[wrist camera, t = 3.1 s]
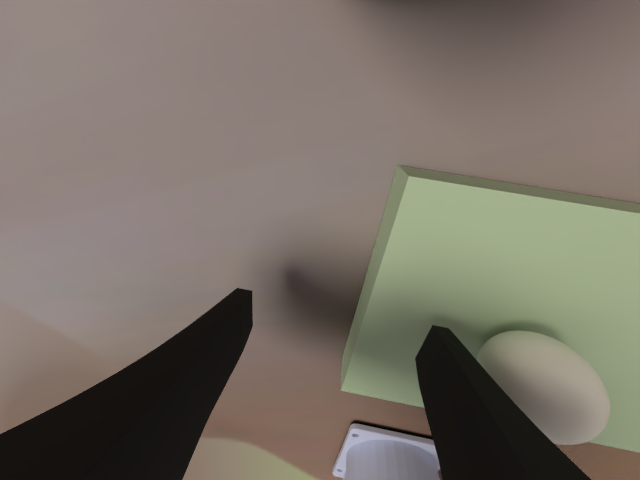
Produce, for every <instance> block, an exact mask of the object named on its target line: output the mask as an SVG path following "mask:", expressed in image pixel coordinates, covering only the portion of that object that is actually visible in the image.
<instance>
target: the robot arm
mask: <svg viewBox="0 0 640 480" xmlns="http://www.w3.org/2000/svg"><path fill="white" fill-rule="evenodd" d="M252 327H253V319H252V291H250V290H245V289H239V288H237V289H235V290H234V291H233V292H231V293H230V294H229V295H228V296H226V297H225V298H224V299H223V300H221V301H220V302H219V303H218V304H216V305H215V306H214V307H213V308H211V309H210V310H209V311H207V312H206V313H205V314H204V315H202V316H201V317H200V318H198V319H197V320H196V321H194V322H193V323H192V324H190V325H189V326H188V327H186V328H185V329H183V330H182V331H181V332H179V333H178V334H176V335H175V336H173V337H172V338H170V339H169V340H168V341H166V342H165V343H163V344H162V345H160V346H159V347H157V348H156V349H154V350H153V351H151V352H150V353H148V354H147V355H145V356H144V357H142V358H140V359H139V360H137V361H136V362H134V363H132V364H131V365H129V366H127V367H126V368H124V369H122V370H121V371H119V372H117V373H116V374H114V375H112V376H110V377H109V378H107V379H105V380H103V381H102V382H100V383H98V384H96V385H95V386H93V387H91V388H89V389H88V390H86V391H84V392H82V393H80V394H78V395H77V396H75V397H73V398H71V399H69V400H67V401H65V402H64V403H62V404H60V405H58V406H56V407H54V408H52V409H50V410H48V411H46V412H44V413H42V414H40V415H38V416H36V417H34V418H32V419H30V420H28V421H26V422H24V423H22V424H20V425H18V426H16V427H14V428H12V429H10V430H8V431H6V432H4V433H2V434H0V480H182V479H183V477H184V474H185V472H186V469H187V467H188V465H189V462H190V460H191V457H192V455H193V453H194V450H195V448H196V445H197V443H198V441H199V438H200V436H201V434H202V431H203V429H204V427H205V425H206V422H207V420H208V418H209V416H210V414H211V412H212V410H213V408H214V406H215V404H216V402H217V400H218V398H219V397H220V395H221V393H222V391H223V389H224V387H225V385H226V383H227V381H228V379H229V377H230V375H231V373H232V372H233V370H234V368H235V366H236V364H237V362H238V360H239V358H240V356H241V354H242V352H243V350H244V347H245V345H246V342H247V340H248V337H249V335H250V332H251V329H252ZM415 361H416V369H417V376H418V382H419V388H420V392H421V396H422V400H423V404H424V407H425V411H426V415H427V419H428V423H429V426H430V430H431V434H432V438H433V440H432V439H427V438H422V437H418V436H413V435H408V434H404V433H399V432H394V431H390V430H385V429H380V428H376V427H371V426H366V425H362V424H356V423H354V424H351V426H350V428H349V430H348V433H347V435H346V437H345V440H344V442H343V445H342V447H341V450H340V452H339V455H338V457H337V460H336V462H335V465H334V467H333V475H334V476H337V477H341V478H343V480H440V478H439V474H438V471H439V470H440V469H441V473H442V478H443V480H591V479H590V478H589V477H588V476H587V475H586V474H585V473H583V472H582V471H581V470H580V469H579V468H578V467H577V466H576V465H575V464H574V463H573V462H572V461H571V460H570V459H569V458H568V457H567V456H566V455H565V454H564V453H563V452H562V451H561V450H560V449H559V448H558V447H557V446H556V445H555V444H554V443H553V442H552V441H551V440H550V439H549V438H548V437H547V436H546V435H545V434H544V433H543V432H542V431H541V430H540V429H539V428H538V427H537V426H536V425H535V424H534V423H533V422H532V421H531V420H530V419H529V418H528V417H527V416H526V414H525V413H524V412H523V411H522V410H521V409H520V408H519V407H518V406H517V405H516V404H515V403H514V402H513V401H512V400H511V398H510V397H509V396H508V395H507V394H506V393H505V392H504V391H503V390H502V389H501V387H500V386H499V385H498V384H497V383H496V382H495V381H494V380H493V378H492V377H491V376H490V375H489V374H488V373H487V372H486V370H485V369H484V368H483V367H482V366H481V365H480V363H479V362H478V361H477V360H476V359H475V358H474V356H473V355H472V354H471V353H470V352H469V351H468V349H467V348H466V347H465V346H464V345H463V344H462V343H461V341H460V340H459V339H458V338H457V337H456V336H455V335H454V333H453V332H452V331H451V330H450V329H449V328H446V327H441V326H436V325H432V327H431V329H430V331H429V333H428V335H427V336H426V338H425V340H424V342H423V344H422V346H421V348H420V350H419V352H418V354H417V356H416V357H415Z"/></svg>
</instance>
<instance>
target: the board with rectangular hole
mask: <svg viewBox="0 0 640 480" xmlns="http://www.w3.org/2000/svg"><path fill="white" fill-rule="evenodd" d="M432 325H436V326H441V327H446V328H449V329H450V330H451V331H452V332H453V333H454V335H455V336H456V337H457V338H458V339H459V340H460V341H461V343H462V344H463V345H464V346H465V347H466V348H467V349H468V351H469V352H470V353H471V354H472V355H473V356H474V358H475V359H476V360H477V357H478V353H479V351H480V349H481V348H482V346H483V345H484V343H485V342H487V341H488V340H489V339H490V338H491V337H493V336H495V335H497V334H500V333H503V332H507V331H516V330H521V331H531V332H536V333H540V334H543V335H546V336H549V337H551V338H554V339H556V340H558V341H560V342H562V343H564V344H565V345H567V346H569V347H570V348H571V349H573V350H574V351H576V352H577V353H578V354H580V355H581V356H582V357H583V358H584V359H585V360H586V361H587V362H588V363H589V364H590V365H591V366H592V367H593V369H594V370H595V371H596V372H597V374H598V375H599V377H600V378H601V380H602V382H603V384H604V386H605V388H606V390H607V394H608V397H609V401H610V416H609V420H608V423H607V425H606V427H605V428H604V430H603V431H602V432H601V434H600V435H598V436H597V437H595V438H594V439H592V440H590V441H588V442H591V443H595V444H600V445H605V446H610V447H615V448H619V449H624V450H629V451H634V452H639V453H640V204H638V203H632V202H625V201H619V200H613V199H607V198H600V197H594V196H588V195H582V194H575V193H569V192H563V191H557V190H550V189H544V188H538V187H532V186H525V185H519V184H513V183H507V182H500V181H494V180H488V179H482V178H475V177H469V176H463V175H457V174H450V173H444V172H438V171H432V170H425V169H419V168H413V167H407V166H400V165H397V169H396V172H395V176H394V179H393V183H392V186H391V190H390V193H389V197H388V200H387V204H386V207H385V211H384V214H383V218H382V221H381V224H380V228H379V231H378V235H377V238H376V242H375V245H374V249H373V252H372V256H371V259H370V263H369V266H368V270H367V273H366V277H365V280H364V284H363V287H362V291H361V294H360V298H359V301H358V305H357V308H356V312H355V315H354V319H353V322H352V326H351V329H350V333H349V336H348V340H347V343H346V347H345V350H344V353H343V357H342V375H341V391H345V392H350V393H355V394H360V395H365V396H369V397H374V398H379V399H384V400H389V401H393V402H398V403H403V404H408V405H413V406H417V407H422V408H425V407H424V404H423V400H422V396H421V392H420V388H419V382H418V376H417V369H416V361H415V357H416V356H417V354H418V352H419V350H420V348H421V346H422V344H423V342H424V340H425V338H426V336H427V335H428V333H429V331H430V329H431V327H432Z"/></svg>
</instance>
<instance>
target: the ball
mask: <svg viewBox="0 0 640 480" xmlns="http://www.w3.org/2000/svg"><path fill="white" fill-rule="evenodd" d="M477 361H478V362H479V363H480V365H481V366H482V367H483V368H484V369H485V370H486V372H487V373H488V374H489V375H490V376H491V377H492V378H493V380H494V381H495V382H496V383H497V384H498V385H499V386H500V387H501V389H502V390H503V391H504V392H505V393H506V394H507V395H508V396H509V397H510V398H511V400H512V401H513V402H514V403H515V404H516V405H517V406H518V407H519V408H520V409H521V410H522V411H523V412H524V413H525V414H526V416H527V417H528V418H529V419H530V420H531V421H532V422H533V423H534V424H535V425H536V426H537V427H538V428H539V429H540V430H541V431H542V432H543V433H544V434H545V435H546V436H547V437H548V438H549V439H550V440H551V441H552V442H553V443H554V444H559V445H576V444H582V443H585V442H588V441H590V440H592V439H594V438H595V437H597V436H598V435H600V434H601V432H602V431H603V430H604V428H605V427H606V425H607V423H608V420H609V416H610V401H609V397H608V394H607V390H606V388H605V386H604V384H603V382H602V380H601V378H600V377H599V375H598V374H597V372H596V371H595V370H594V369H593V367H592V366H591V365H590V364H589V363H588V362H587V361H586V360H585V359H584V358H583V357H582V356H581V355H580V354H578V353H577V352H576V351H574V350H573V349H571V348H570V347H569V346H567V345H565V344H564V343H562V342H560V341H558V340H556V339H554V338H551V337H549V336H546V335H543V334H540V333H536V332H531V331H521V330H516V331H507V332H503V333H500V334H497V335H495V336H493V337H491V338H490V339H489V340H488V341H487V342H485V343H484V345H483V346H482V348H481V349H480V351H479V353H478V357H477Z"/></svg>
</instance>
